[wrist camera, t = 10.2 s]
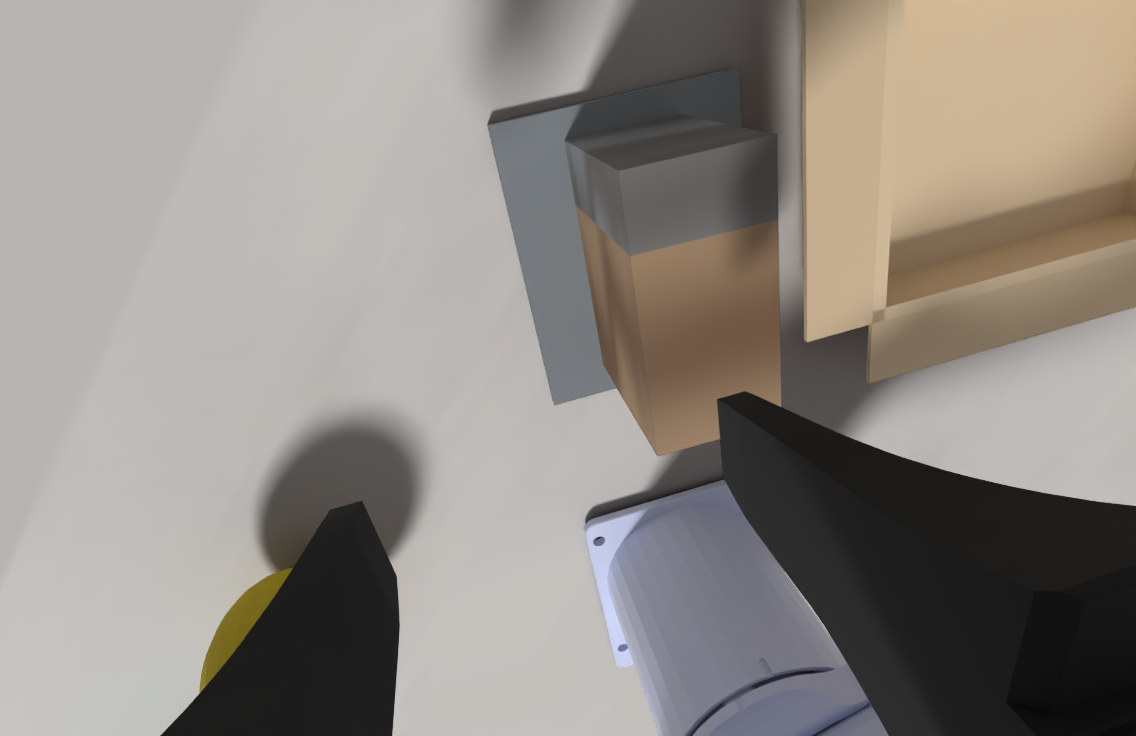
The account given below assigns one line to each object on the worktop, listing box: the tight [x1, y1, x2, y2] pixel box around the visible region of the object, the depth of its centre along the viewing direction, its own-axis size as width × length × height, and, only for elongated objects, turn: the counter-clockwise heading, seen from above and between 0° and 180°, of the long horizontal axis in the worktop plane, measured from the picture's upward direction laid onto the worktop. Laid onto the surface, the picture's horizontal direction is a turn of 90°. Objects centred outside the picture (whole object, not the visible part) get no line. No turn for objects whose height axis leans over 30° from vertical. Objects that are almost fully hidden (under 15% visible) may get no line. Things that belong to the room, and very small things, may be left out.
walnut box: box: [564, 114, 781, 456], centre depth 18 cm, size 8×4×6 cm, turn 10°
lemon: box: [200, 568, 293, 692], centre depth 21 cm, size 6×6×8 cm
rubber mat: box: [487, 68, 742, 405], centre depth 21 cm, size 10×8×1 cm
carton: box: [802, 0, 1136, 384], centre depth 21 cm, size 16×18×2 cm
